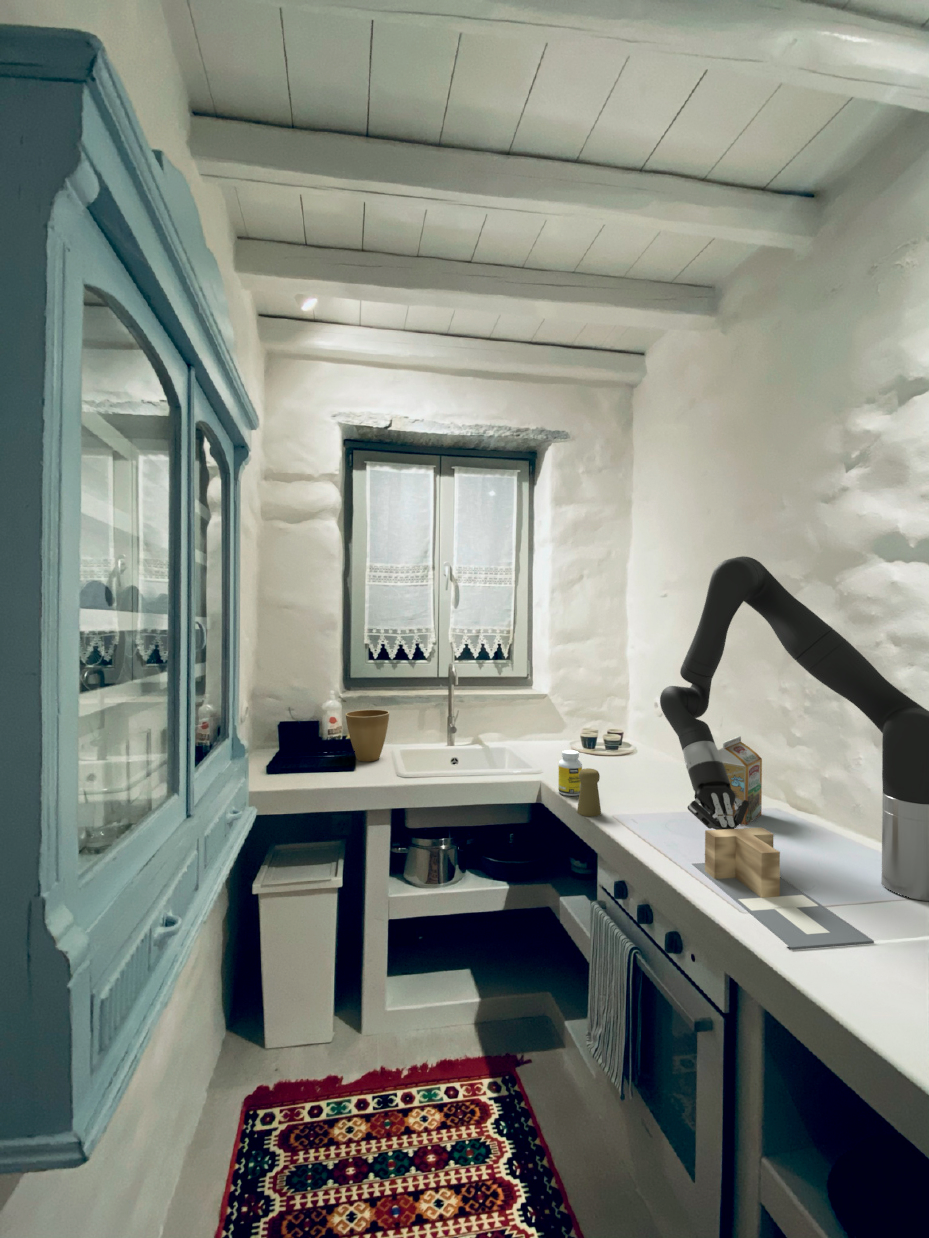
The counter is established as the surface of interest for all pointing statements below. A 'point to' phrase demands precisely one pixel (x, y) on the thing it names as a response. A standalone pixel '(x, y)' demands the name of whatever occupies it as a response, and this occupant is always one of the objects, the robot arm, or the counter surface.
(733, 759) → the milk carton
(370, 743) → the plant pot
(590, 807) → the tan rounded upright piece
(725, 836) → the oak T block
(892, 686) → the robot arm
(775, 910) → the slate mat
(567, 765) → the pill bottle
